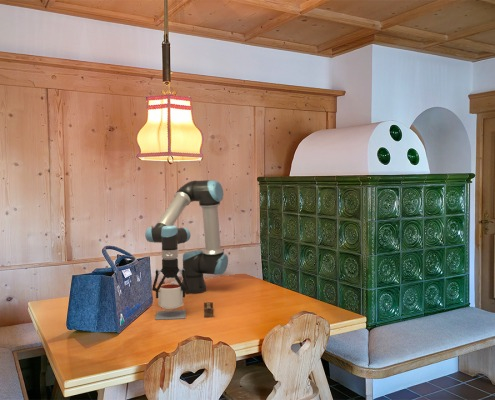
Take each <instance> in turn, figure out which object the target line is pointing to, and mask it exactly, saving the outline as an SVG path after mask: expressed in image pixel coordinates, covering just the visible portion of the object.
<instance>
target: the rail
mask: <svg viewBox="0 0 495 400" xmlns="http://www.w3.org/2000/svg"><path fill="white" fill-rule="evenodd" d="M214 310H215V309H214V302H211V301H210V302H209V301H208V302H207V301H206V302H203V316H204V318H214V315H215V314H214Z"/></svg>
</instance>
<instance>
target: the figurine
mask: <svg viewBox="0 0 495 400" xmlns="http://www.w3.org/2000/svg"><path fill="white" fill-rule="evenodd" d="M170 284H176V285H179V284H178V282H177V281H176V279H175V278H173V281H171V282H170ZM182 306H184V303H183V305H181V306H180V307H182Z"/></svg>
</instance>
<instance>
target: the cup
mask: <svg viewBox="0 0 495 400" xmlns="http://www.w3.org/2000/svg"><path fill="white" fill-rule="evenodd" d="M159 291H160V307H161V309H164V310H175V309H178V308H181V307H182V306H181V287H180V285H178V284H177V285H176V284H171V283H169V284H164V285H163V284H162V285H161V287H160V289H159Z"/></svg>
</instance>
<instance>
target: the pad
mask: <svg viewBox="0 0 495 400" xmlns="http://www.w3.org/2000/svg"><path fill="white" fill-rule="evenodd" d="M186 316H187V309H177V310H175V309H171V310H157V312H156V315H155V318H154V321H168V320H185V319H186Z"/></svg>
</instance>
